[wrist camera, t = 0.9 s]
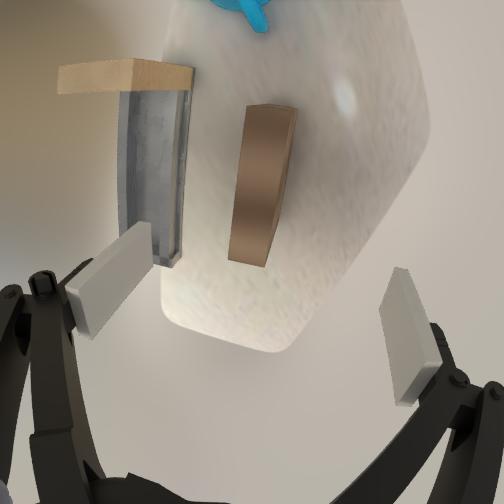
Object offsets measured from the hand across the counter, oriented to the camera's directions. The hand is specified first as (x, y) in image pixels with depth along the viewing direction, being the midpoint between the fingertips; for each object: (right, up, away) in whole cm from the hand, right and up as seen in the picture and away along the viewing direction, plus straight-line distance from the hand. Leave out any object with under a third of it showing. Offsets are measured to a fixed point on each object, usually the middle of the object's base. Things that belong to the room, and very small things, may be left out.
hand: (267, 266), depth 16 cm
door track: (-12, +10, +17) cm, 23 cm away
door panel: (+1, +10, +15) cm, 18 cm away
